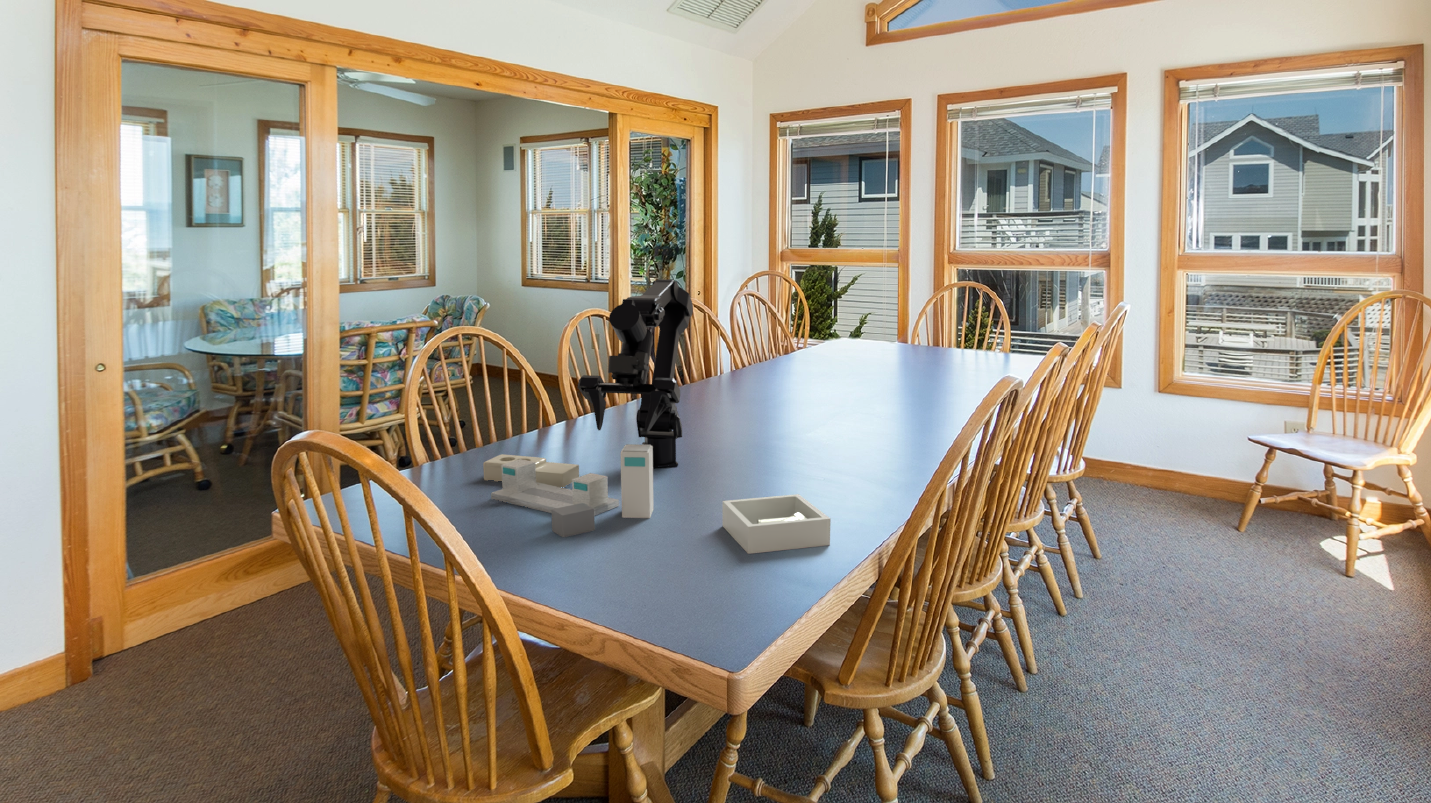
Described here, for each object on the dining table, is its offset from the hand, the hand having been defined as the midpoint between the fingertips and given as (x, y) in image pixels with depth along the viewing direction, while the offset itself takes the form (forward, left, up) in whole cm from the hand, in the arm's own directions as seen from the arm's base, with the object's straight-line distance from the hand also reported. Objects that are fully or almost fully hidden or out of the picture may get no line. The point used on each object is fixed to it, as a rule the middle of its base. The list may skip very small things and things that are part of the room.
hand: (622, 430), depth 169 cm
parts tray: (-21, +26, -14) cm, 36 cm away
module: (-1, +8, -14) cm, 16 cm away
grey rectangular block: (+11, +14, -14) cm, 23 cm away
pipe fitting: (-21, +27, -14) cm, 37 cm away
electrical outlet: (+15, -20, -14) cm, 29 cm away
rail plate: (+13, -3, -14) cm, 19 cm away
